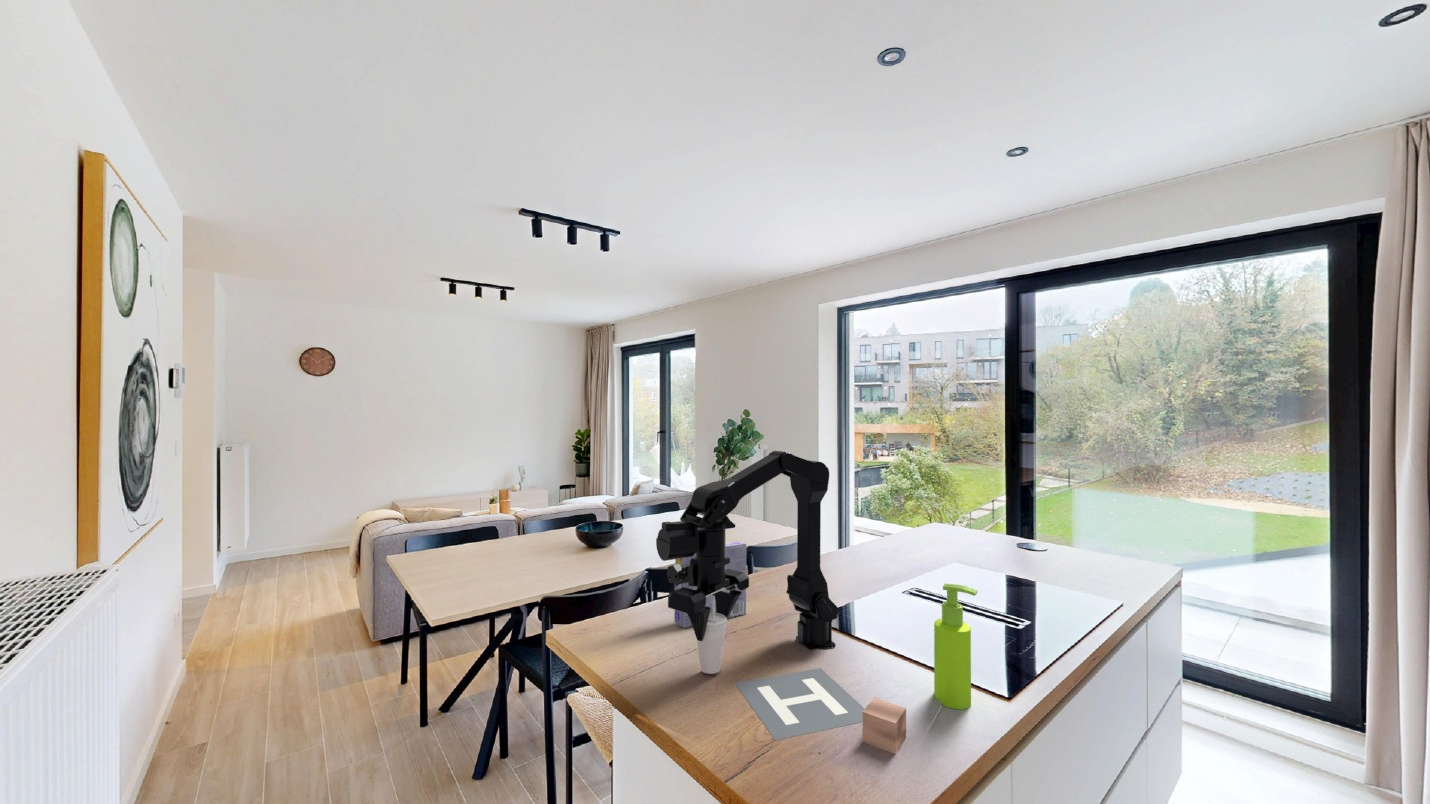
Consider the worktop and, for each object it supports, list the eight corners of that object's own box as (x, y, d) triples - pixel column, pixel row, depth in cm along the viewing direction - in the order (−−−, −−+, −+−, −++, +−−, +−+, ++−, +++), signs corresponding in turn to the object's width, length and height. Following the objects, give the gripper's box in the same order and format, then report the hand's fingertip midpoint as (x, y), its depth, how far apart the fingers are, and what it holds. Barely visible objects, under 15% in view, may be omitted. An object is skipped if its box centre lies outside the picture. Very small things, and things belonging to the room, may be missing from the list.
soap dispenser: (975, 715, 88) (975, 594, 89) (931, 702, 92) (931, 587, 92) (979, 699, 93) (979, 584, 94) (937, 687, 97) (937, 578, 97)
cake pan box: (739, 607, 136) (740, 538, 137) (751, 614, 132) (751, 542, 132) (672, 622, 126) (673, 548, 127) (682, 630, 122) (682, 553, 122)
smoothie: (723, 679, 98) (723, 602, 98) (690, 675, 99) (690, 600, 99) (729, 662, 104) (729, 591, 104) (697, 659, 106) (698, 588, 106)
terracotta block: (874, 729, 85) (874, 697, 85) (906, 740, 82) (906, 708, 82) (862, 744, 81) (862, 711, 81) (895, 757, 78) (895, 723, 78)
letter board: (820, 670, 104) (820, 668, 104) (876, 721, 86) (876, 719, 87) (734, 684, 98) (734, 682, 98) (775, 742, 81) (775, 740, 81)
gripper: (706, 537, 114) (706, 610, 114) (646, 556, 99) (645, 640, 99) (750, 545, 108) (750, 622, 107) (692, 567, 93) (692, 657, 92)
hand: (710, 634), depth 102 cm, fingers closed on smoothie, 6 cm apart
